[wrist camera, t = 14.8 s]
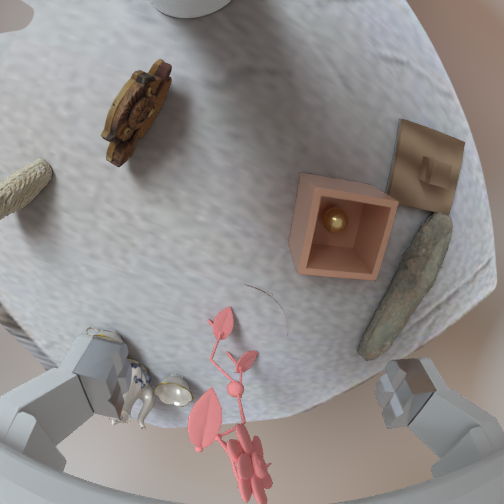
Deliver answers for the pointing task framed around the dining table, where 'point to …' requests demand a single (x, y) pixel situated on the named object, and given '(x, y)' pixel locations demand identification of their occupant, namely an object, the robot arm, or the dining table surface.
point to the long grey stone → (408, 285)
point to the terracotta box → (348, 241)
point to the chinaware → (147, 387)
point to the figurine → (210, 418)
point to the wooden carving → (135, 110)
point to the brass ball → (335, 220)
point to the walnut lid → (425, 168)
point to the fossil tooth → (23, 186)
